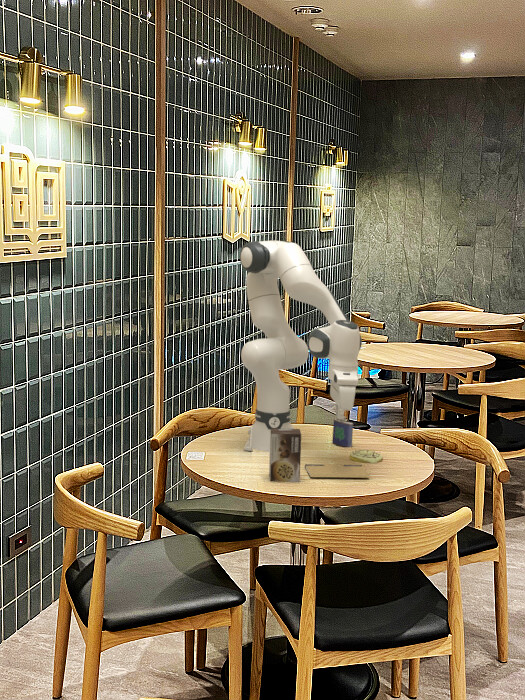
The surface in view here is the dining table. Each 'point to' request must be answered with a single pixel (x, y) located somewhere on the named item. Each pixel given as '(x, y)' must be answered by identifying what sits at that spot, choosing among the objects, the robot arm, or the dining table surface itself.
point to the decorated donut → (365, 456)
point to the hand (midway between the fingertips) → (339, 417)
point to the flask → (342, 433)
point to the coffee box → (285, 455)
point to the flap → (337, 471)
